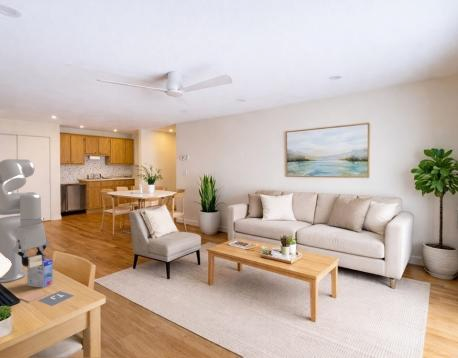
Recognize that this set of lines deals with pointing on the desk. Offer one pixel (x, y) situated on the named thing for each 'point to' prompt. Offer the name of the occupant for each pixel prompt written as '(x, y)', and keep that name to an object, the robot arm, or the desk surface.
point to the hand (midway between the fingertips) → (32, 262)
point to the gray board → (56, 298)
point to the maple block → (34, 260)
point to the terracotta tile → (32, 296)
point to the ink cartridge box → (41, 274)
